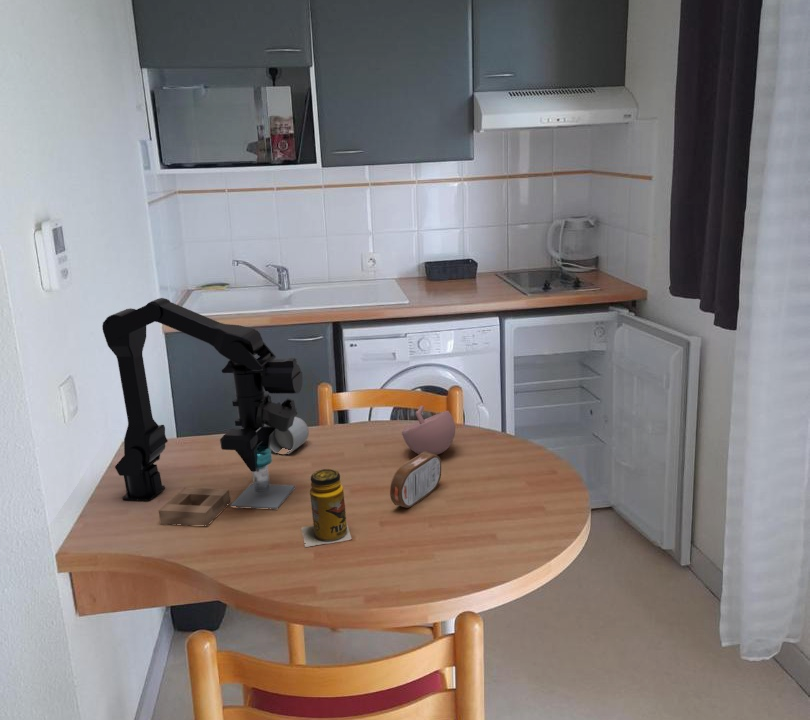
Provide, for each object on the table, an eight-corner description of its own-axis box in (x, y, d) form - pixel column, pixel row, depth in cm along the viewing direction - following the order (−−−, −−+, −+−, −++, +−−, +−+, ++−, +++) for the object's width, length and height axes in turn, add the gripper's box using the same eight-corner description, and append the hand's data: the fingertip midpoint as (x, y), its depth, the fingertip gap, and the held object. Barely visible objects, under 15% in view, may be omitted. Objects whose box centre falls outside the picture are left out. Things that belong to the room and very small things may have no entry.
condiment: (352, 540, 135) (346, 479, 131) (305, 548, 133) (298, 486, 130) (346, 521, 142) (340, 463, 138) (301, 529, 140) (294, 470, 137)
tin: (432, 482, 156) (430, 444, 153) (445, 485, 154) (443, 447, 152) (390, 512, 144) (386, 472, 142) (403, 516, 142) (400, 475, 140)
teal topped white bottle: (269, 495, 150) (264, 456, 148) (245, 494, 151) (240, 455, 149) (279, 484, 155) (274, 446, 153) (255, 483, 156) (251, 445, 154)
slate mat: (230, 507, 150) (230, 505, 150) (251, 486, 160) (251, 483, 159) (277, 510, 148) (276, 507, 148) (295, 488, 157) (295, 485, 157)
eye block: (160, 524, 145) (158, 510, 144) (186, 500, 155) (184, 487, 154) (207, 527, 143) (205, 512, 142) (230, 503, 152) (228, 489, 151)
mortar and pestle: (423, 440, 178) (420, 395, 175) (466, 449, 171) (464, 402, 168) (393, 458, 169) (389, 410, 166) (437, 468, 162) (434, 419, 159)
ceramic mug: (312, 443, 181) (308, 413, 179) (296, 456, 173) (292, 425, 171) (274, 441, 185) (270, 411, 183) (257, 453, 177) (252, 423, 175)
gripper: (269, 409, 137) (278, 487, 141) (305, 378, 154) (312, 448, 159) (214, 408, 139) (224, 485, 144) (255, 378, 157) (263, 447, 161)
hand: (259, 465), depth 152 cm, fingers closed on teal topped white bottle, 5 cm apart
